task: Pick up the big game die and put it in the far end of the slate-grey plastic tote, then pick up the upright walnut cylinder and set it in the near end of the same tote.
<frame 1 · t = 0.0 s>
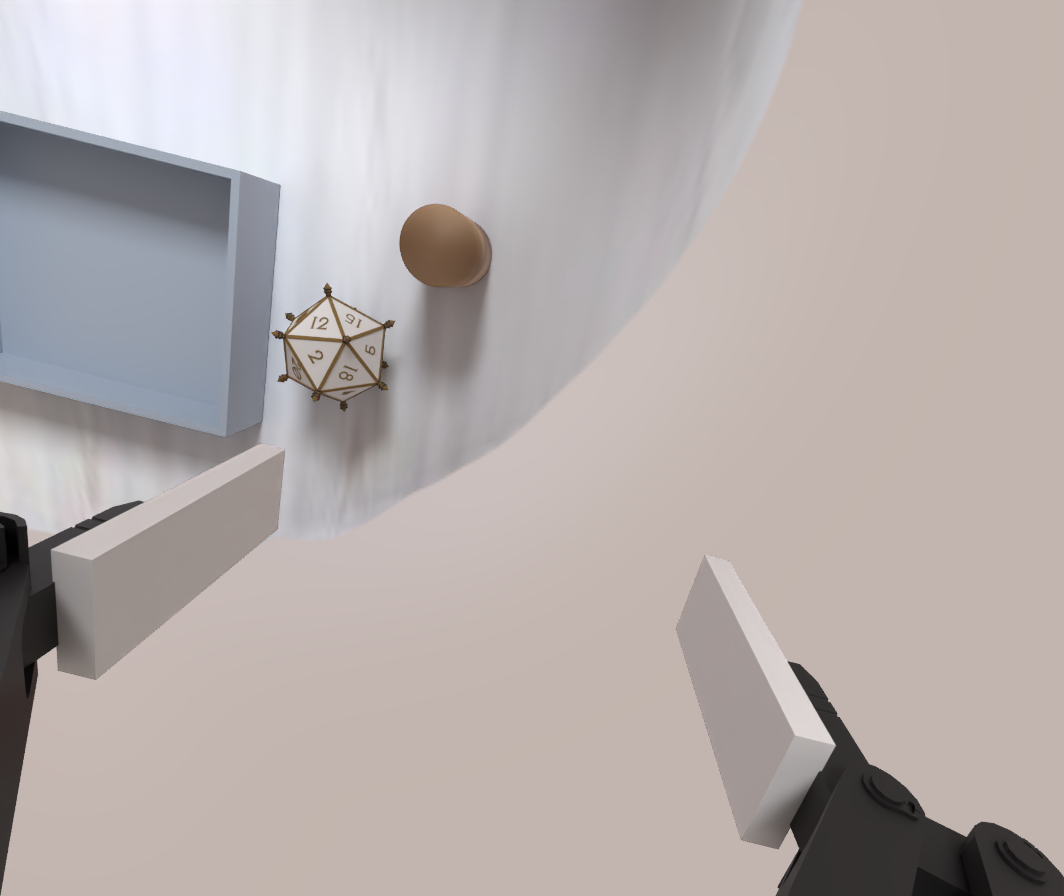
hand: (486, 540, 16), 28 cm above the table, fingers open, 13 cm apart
game die: (357, 345, 43), on the table
walnut cylinder: (459, 253, 40), on the table
tote: (132, 277, 42), on the table
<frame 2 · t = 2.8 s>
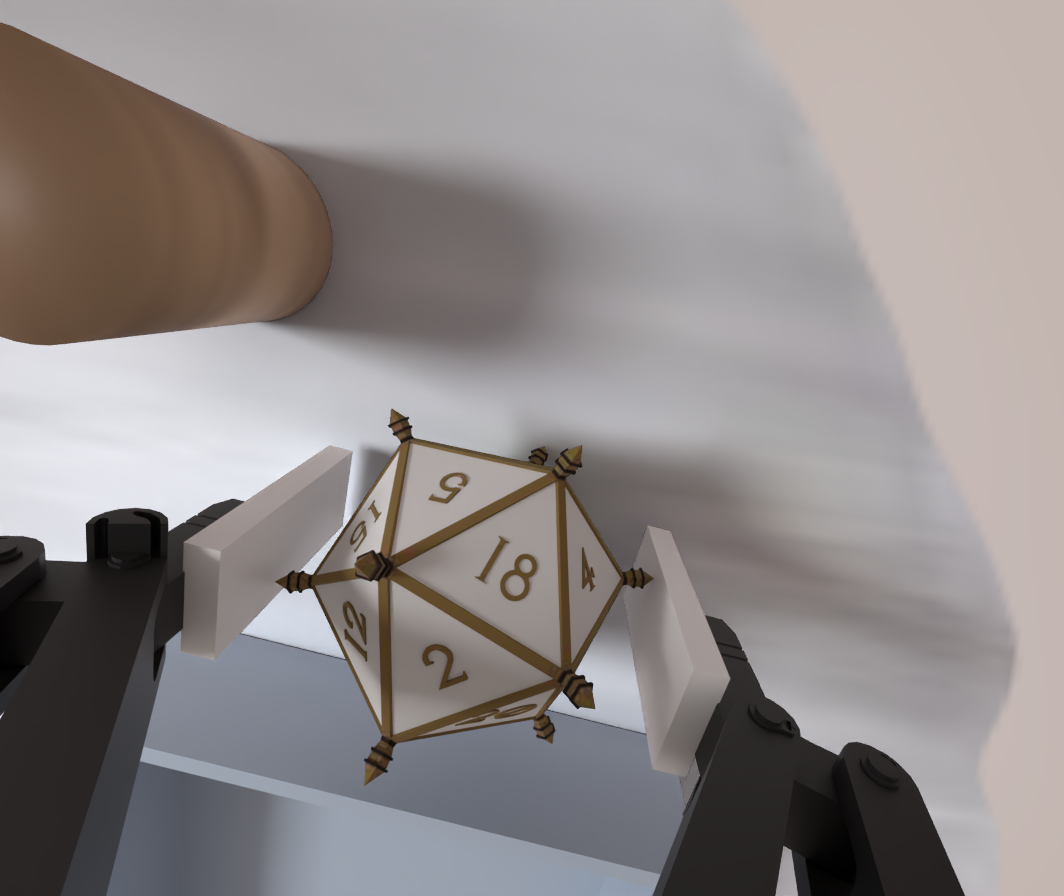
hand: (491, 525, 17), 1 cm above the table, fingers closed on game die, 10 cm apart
game die: (495, 513, 18), on the table, touching gripper
walnut cylinder: (250, 234, 15), on the table
tote: (383, 882, 23), on the table
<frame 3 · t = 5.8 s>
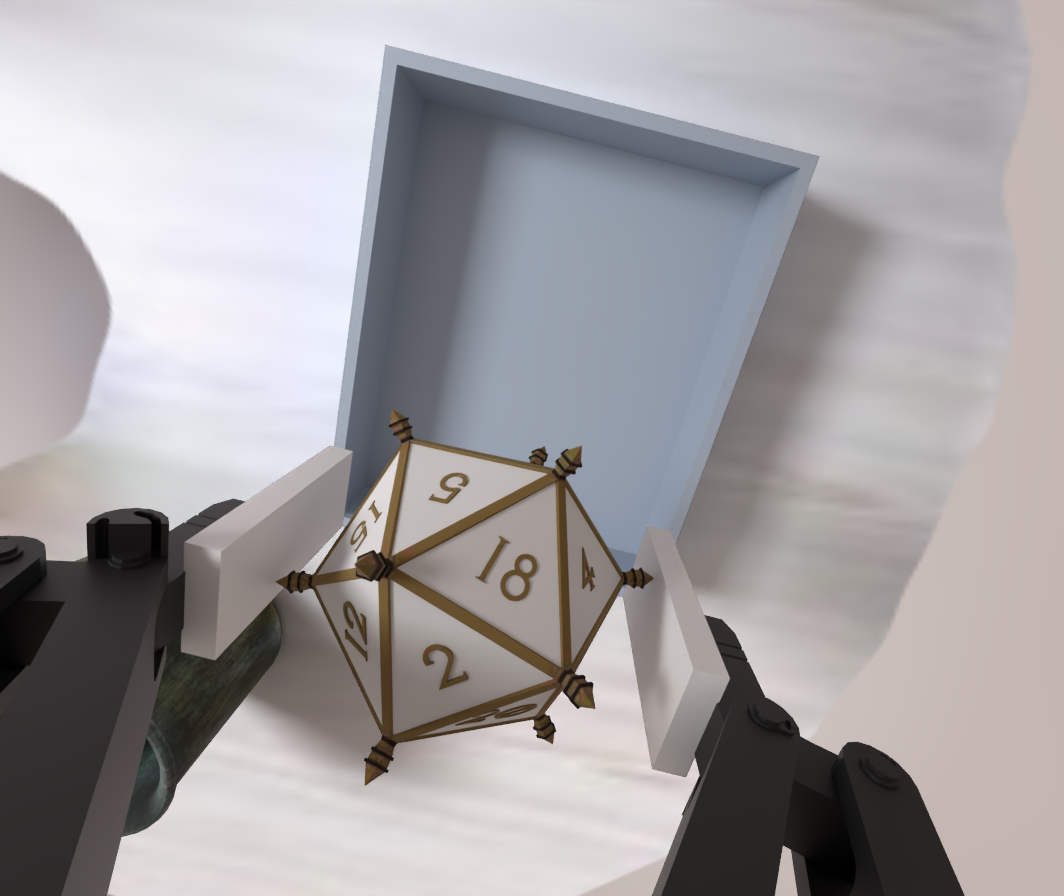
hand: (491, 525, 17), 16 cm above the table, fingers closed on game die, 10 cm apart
game die: (495, 513, 18), point 15 cm above the table, touching gripper
mug: (214, 596, 38), on the table
tote: (543, 351, 30), on the table
when the fingers open (3 cm above the table, at t = 8.6 s): game die drops 2 cm, resting on tote.
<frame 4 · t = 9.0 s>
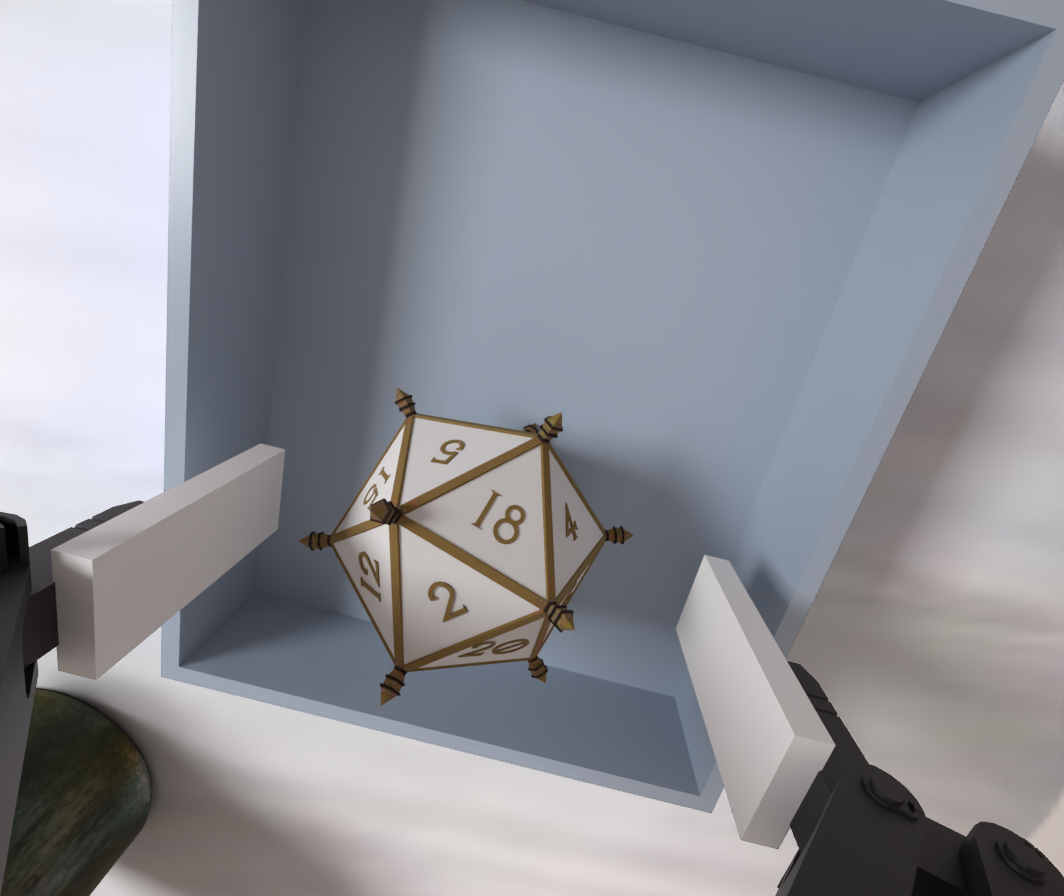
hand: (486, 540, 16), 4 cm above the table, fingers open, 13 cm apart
game die: (492, 486, 19), resting on tote
mug: (54, 735, 26), on the table
tote: (527, 389, 19), on the table
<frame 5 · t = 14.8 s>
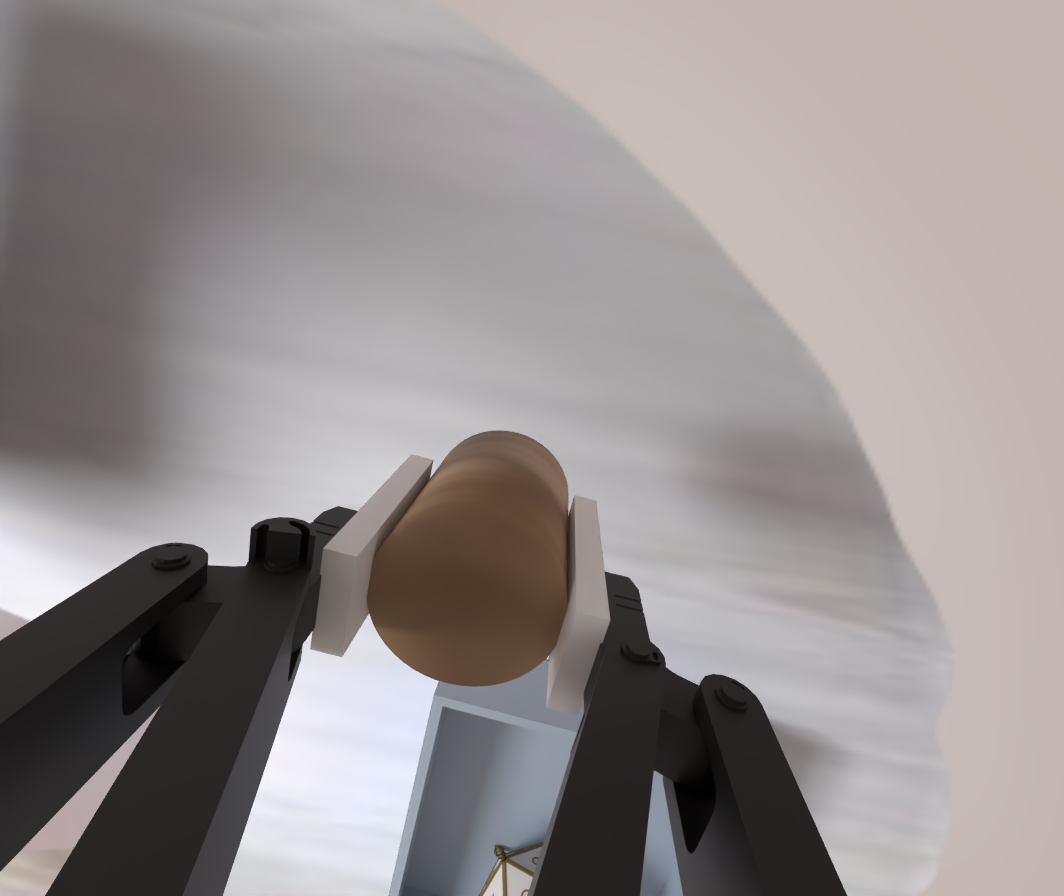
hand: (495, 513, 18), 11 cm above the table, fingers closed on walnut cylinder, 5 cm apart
game die: (536, 847, 37), resting on tote
walnut cylinder: (501, 494, 19), point 10 cm above the table, touching gripper
tote: (555, 804, 36), on the table
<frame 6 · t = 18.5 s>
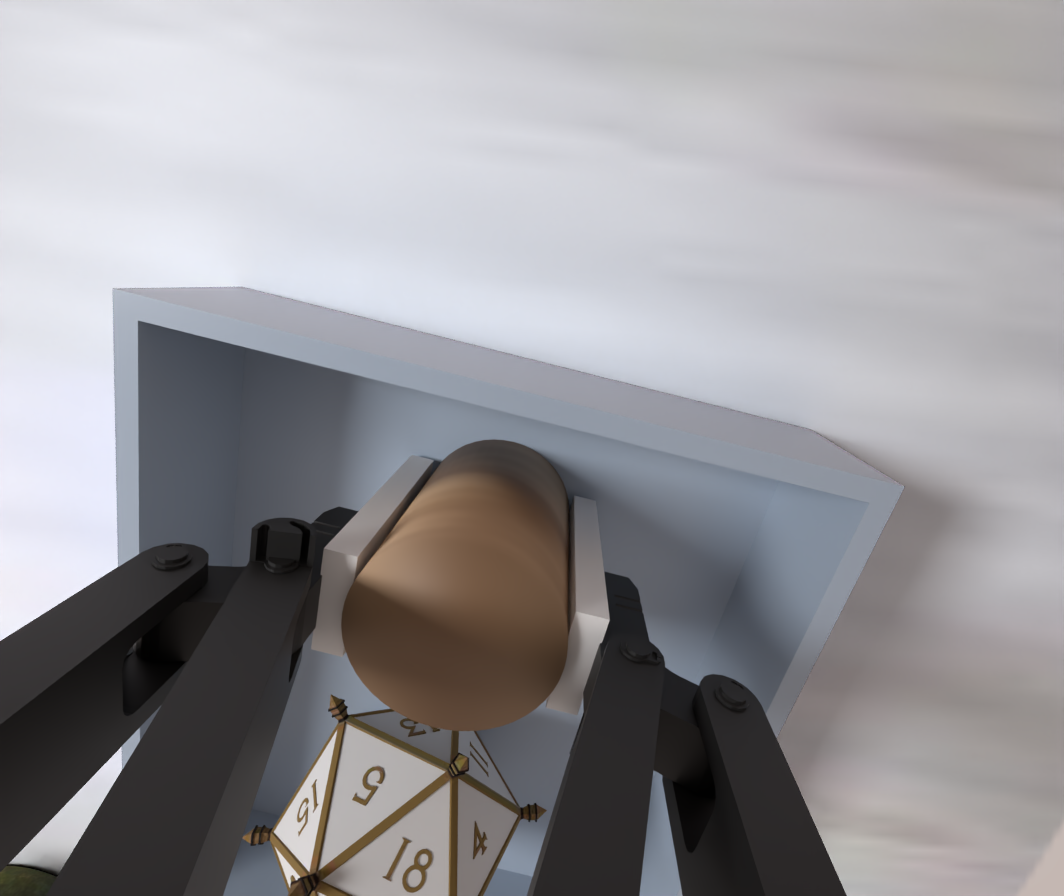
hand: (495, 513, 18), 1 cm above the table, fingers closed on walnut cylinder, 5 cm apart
game die: (431, 722, 21), resting on tote
walnut cylinder: (497, 508, 18), point 1 cm above the table, touching gripper
tote: (460, 643, 21), on the table
when the fingers open (1 cm above the table, at t = 18.6 s): walnut cylinder stays where it is, resting on tote.
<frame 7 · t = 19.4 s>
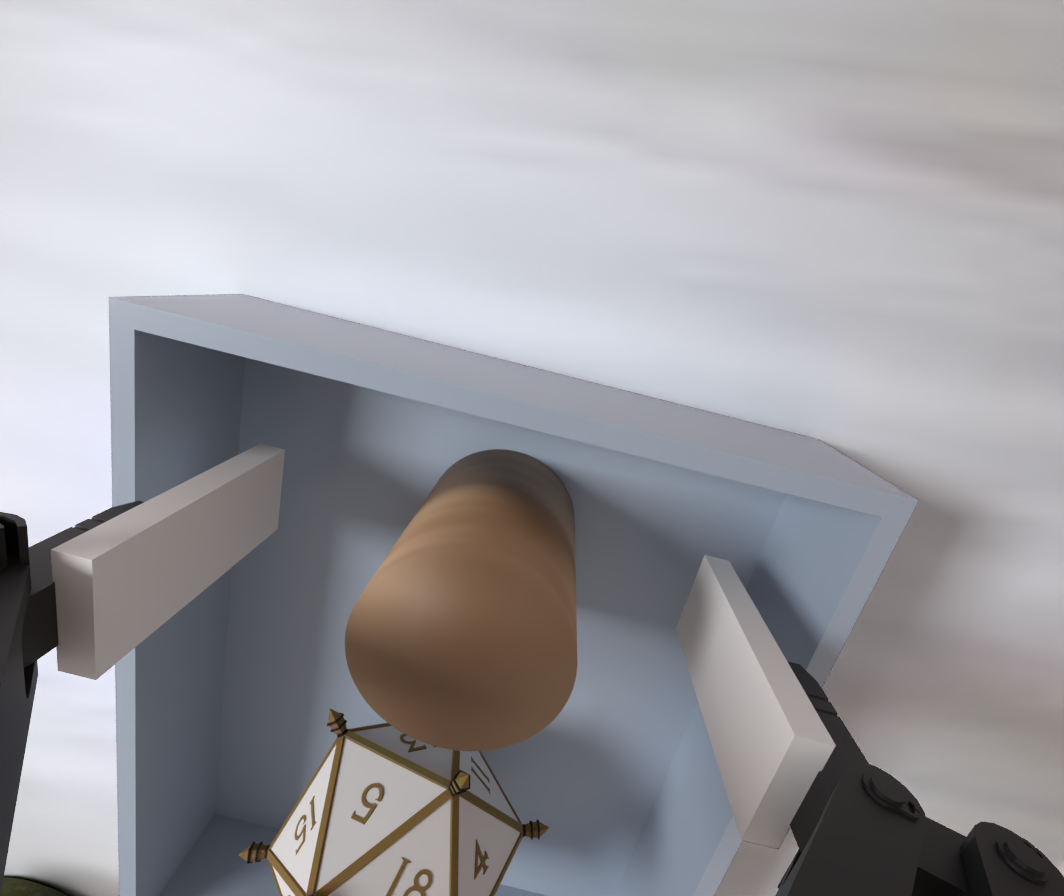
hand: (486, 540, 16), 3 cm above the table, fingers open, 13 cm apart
game die: (431, 735, 21), resting on tote
walnut cylinder: (501, 518, 18), point 1 cm above the table, touching tote
tote: (461, 655, 20), on the table
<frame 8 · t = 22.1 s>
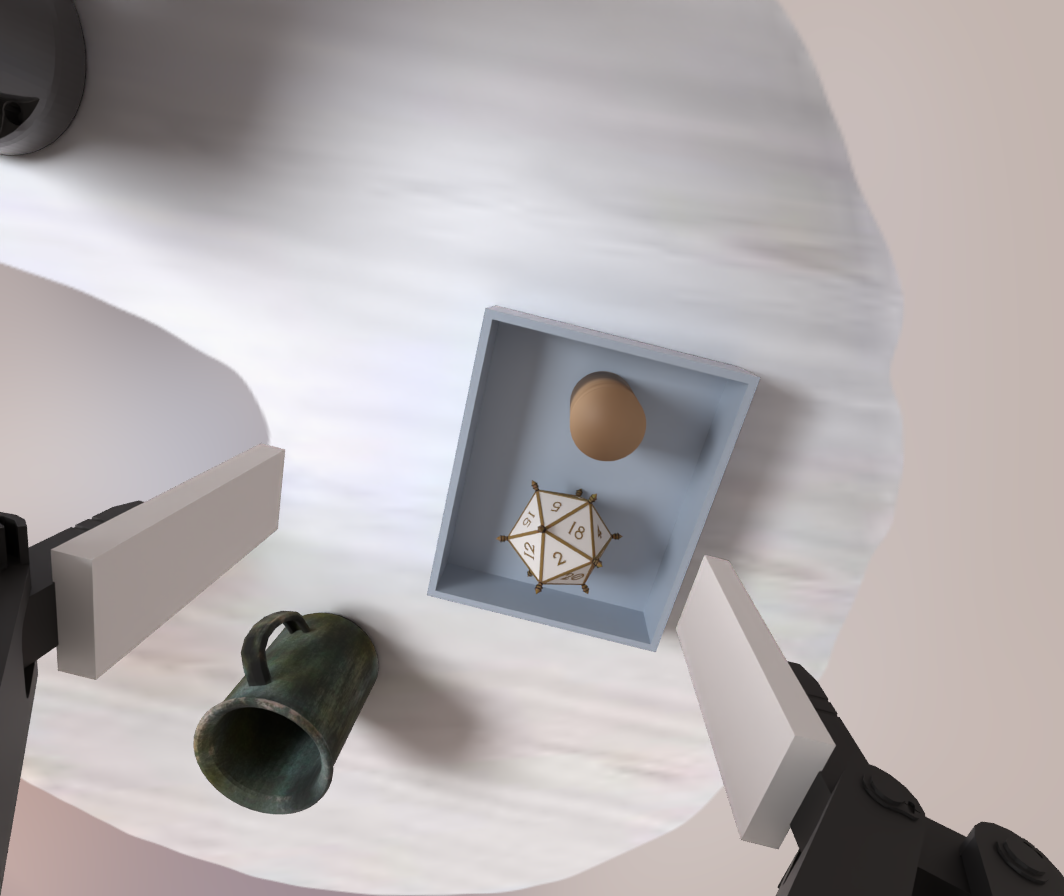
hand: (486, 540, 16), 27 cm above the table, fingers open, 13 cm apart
game die: (561, 514, 44), resting on tote
mug: (327, 638, 50), on the table
walnut cylinder: (601, 402, 41), point 1 cm above the table, touching tote
tote: (577, 473, 43), on the table
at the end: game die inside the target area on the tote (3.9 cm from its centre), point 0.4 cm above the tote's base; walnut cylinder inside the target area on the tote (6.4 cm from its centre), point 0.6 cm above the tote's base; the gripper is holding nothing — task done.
